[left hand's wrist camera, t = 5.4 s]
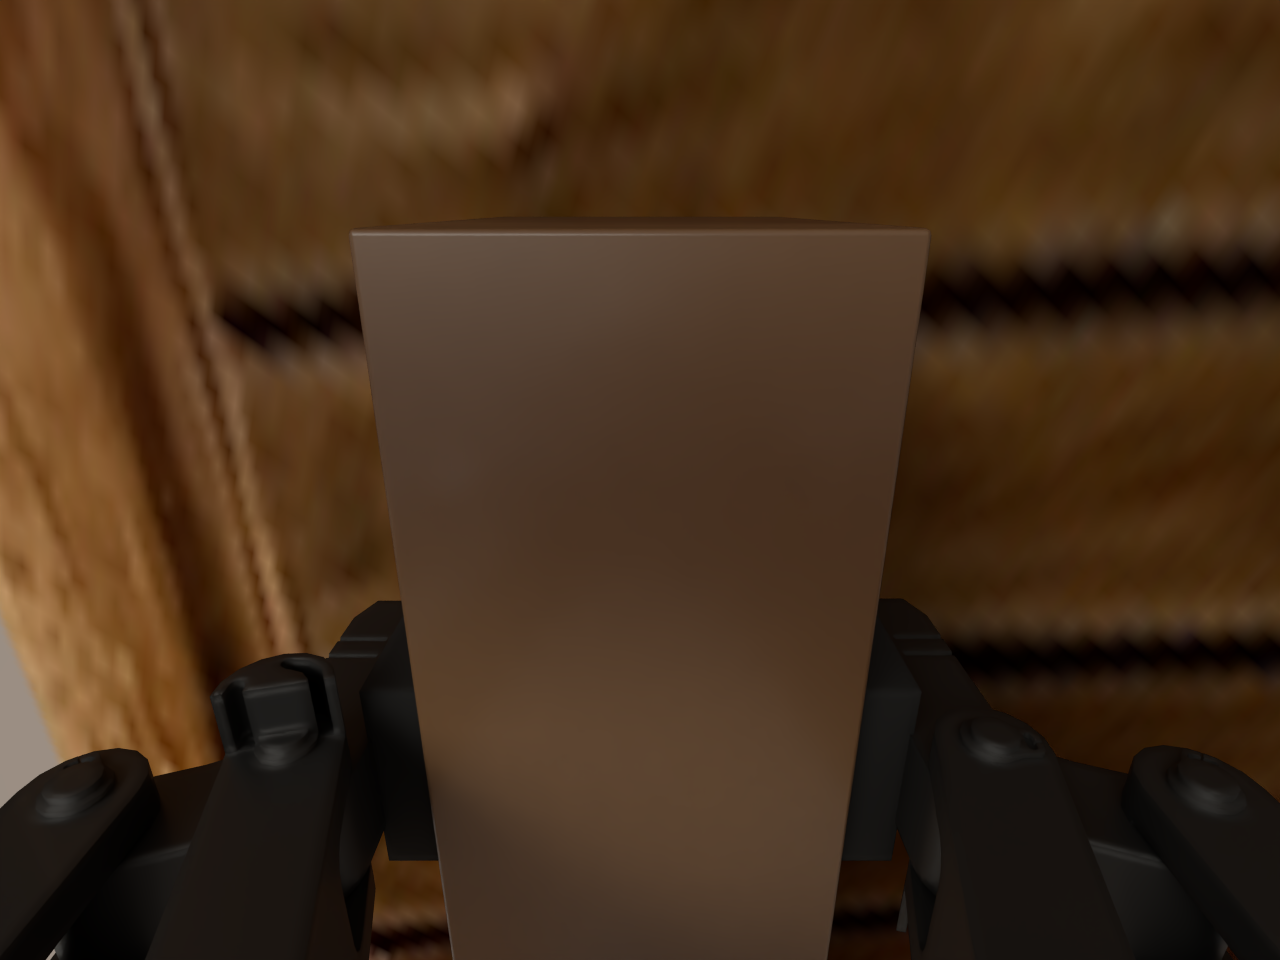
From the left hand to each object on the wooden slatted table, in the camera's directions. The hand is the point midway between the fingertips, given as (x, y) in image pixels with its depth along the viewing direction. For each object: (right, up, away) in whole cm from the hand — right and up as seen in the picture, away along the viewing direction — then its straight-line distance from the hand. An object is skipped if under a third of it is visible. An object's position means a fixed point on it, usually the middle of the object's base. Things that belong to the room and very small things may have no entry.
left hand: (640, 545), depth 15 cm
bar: (0, -22, +9) cm, 24 cm away
